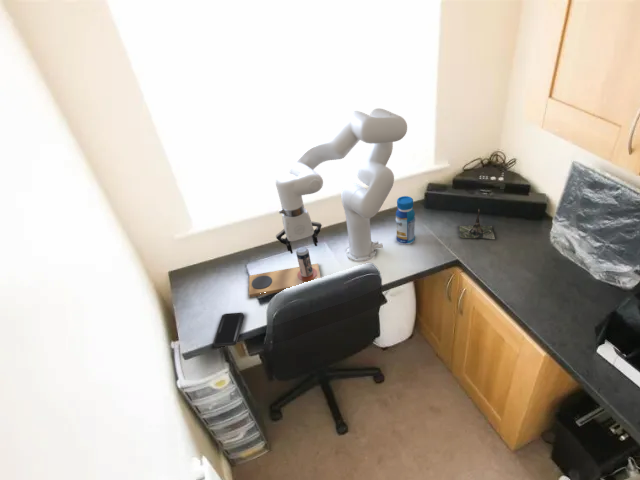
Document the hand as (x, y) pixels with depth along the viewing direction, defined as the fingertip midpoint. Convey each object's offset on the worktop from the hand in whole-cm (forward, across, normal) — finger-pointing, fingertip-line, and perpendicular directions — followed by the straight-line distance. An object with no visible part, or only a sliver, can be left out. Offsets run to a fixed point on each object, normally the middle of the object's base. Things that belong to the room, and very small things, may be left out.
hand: (303, 248), depth 158 cm
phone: (+13, -34, -17) cm, 40 cm away
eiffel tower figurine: (+17, +76, -4) cm, 78 cm away
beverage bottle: (+16, +46, +6) cm, 49 cm away
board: (+14, -10, +1) cm, 17 cm away
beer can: (+13, -1, 0) cm, 13 cm away
